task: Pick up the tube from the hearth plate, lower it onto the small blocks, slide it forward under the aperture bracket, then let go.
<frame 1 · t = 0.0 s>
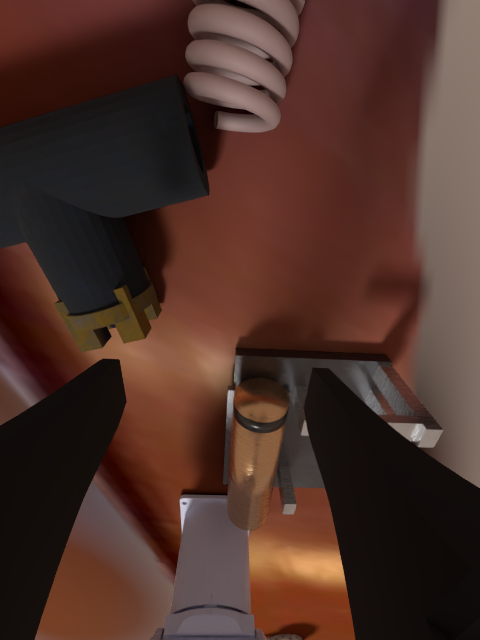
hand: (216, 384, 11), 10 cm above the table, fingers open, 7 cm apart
small blocks: (321, 428, 26), resting on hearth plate
aperture bracket: (339, 362, 23), resting on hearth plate
tube: (252, 438, 25), point 1 cm above the table, touching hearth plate
mug: (275, 639, 53), on the table
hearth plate: (296, 423, 26), on the table
pipe connector: (104, 232, 18), on the table
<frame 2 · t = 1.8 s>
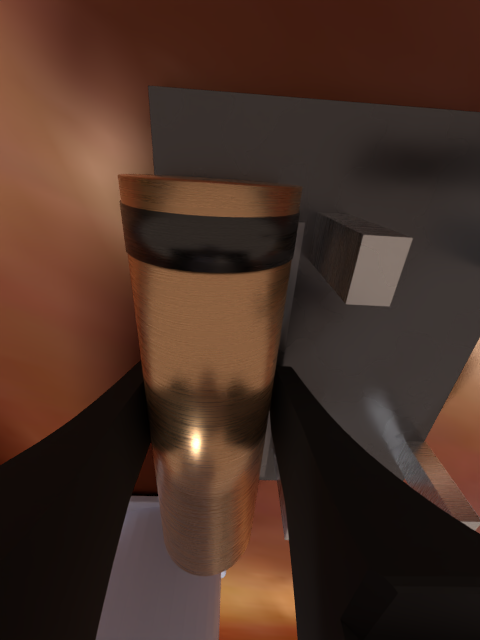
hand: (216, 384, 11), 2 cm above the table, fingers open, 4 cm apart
small blocks: (368, 353, 12), resting on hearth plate
tube: (218, 371, 11), point 1 cm above the table, touching gripper, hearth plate
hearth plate: (313, 341, 12), on the table
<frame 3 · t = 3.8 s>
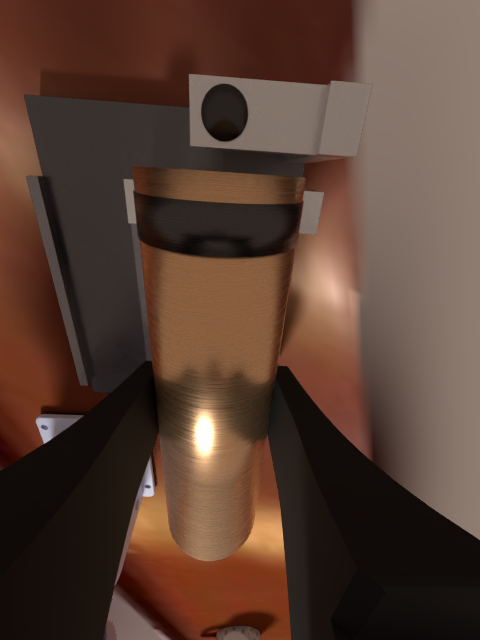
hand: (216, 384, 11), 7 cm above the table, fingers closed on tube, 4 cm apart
small blocks: (224, 289, 17), resting on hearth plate
aperture bracket: (229, 140, 13), resting on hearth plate
tube: (217, 361, 12), point 6 cm above the table, touching gripper
mug: (227, 633, 43), on the table
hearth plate: (181, 279, 16), on the table
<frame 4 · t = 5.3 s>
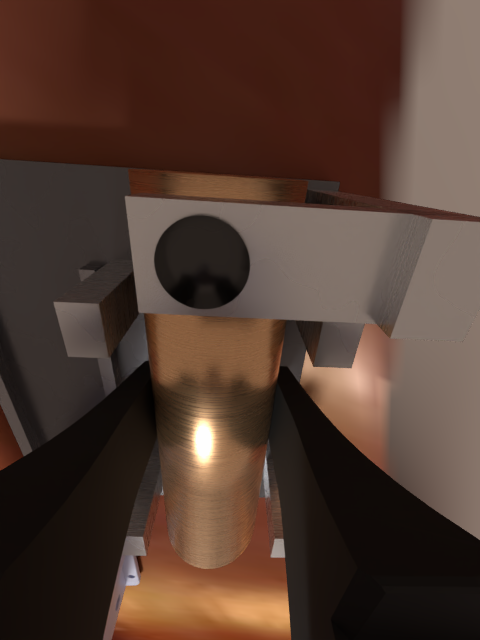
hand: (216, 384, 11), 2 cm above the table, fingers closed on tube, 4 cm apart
small blocks: (218, 378, 13), resting on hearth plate
aperture bracket: (223, 206, 10), resting on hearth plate
tube: (216, 366, 12), point 1 cm above the table, touching gripper
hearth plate: (163, 368, 13), on the table
when the fingers open (2 cm above the table, at t = 5.7 s): tube stays where it is, resting on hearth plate.
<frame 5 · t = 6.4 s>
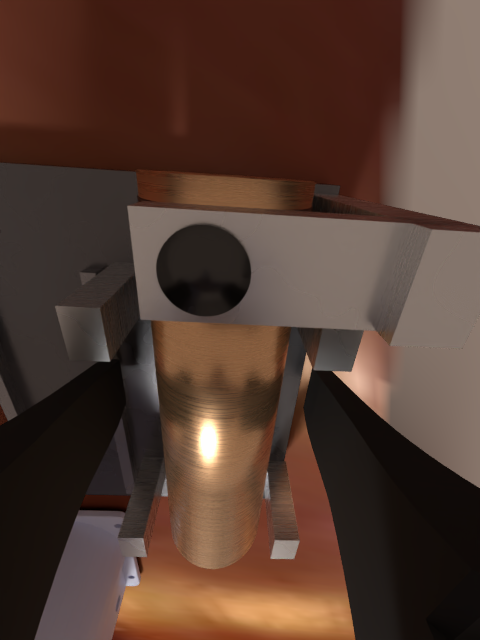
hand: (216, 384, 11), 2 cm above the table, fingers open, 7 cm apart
small blocks: (218, 380, 13), resting on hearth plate
aperture bracket: (224, 209, 10), resting on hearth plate
tube: (216, 366, 11), point 1 cm above the table, tilted 6°, touching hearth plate
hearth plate: (163, 369, 13), on the table
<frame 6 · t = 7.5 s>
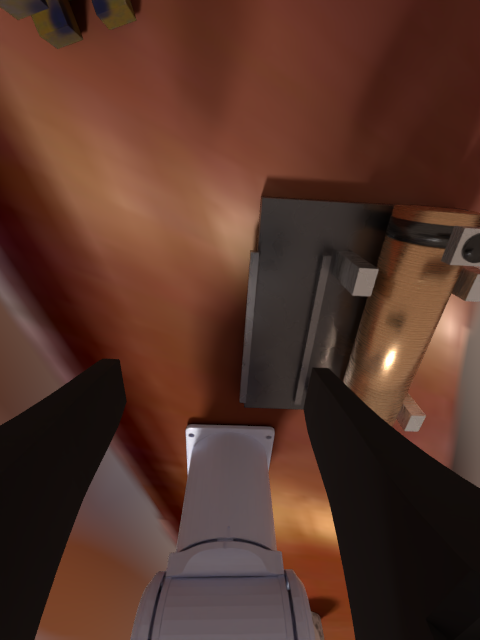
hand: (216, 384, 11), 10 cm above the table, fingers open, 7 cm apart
small blocks: (363, 327, 21), resting on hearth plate
aperture bracket: (395, 222, 18), resting on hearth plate
tube: (375, 314, 19), point 1 cm above the table, tilted 10°, touching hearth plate
mug: (290, 618, 48), on the table
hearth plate: (332, 319, 21), on the table
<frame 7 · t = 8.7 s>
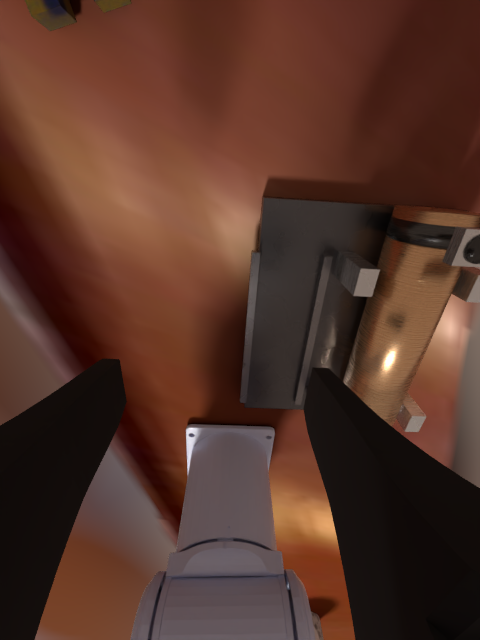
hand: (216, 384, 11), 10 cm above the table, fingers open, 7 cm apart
small blocks: (364, 327, 21), resting on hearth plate
aperture bracket: (396, 222, 18), resting on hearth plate
tube: (375, 314, 19), point 1 cm above the table, tilted 9°, touching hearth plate
mug: (289, 618, 48), on the table
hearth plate: (332, 319, 21), on the table
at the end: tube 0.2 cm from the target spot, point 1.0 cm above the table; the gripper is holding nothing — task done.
